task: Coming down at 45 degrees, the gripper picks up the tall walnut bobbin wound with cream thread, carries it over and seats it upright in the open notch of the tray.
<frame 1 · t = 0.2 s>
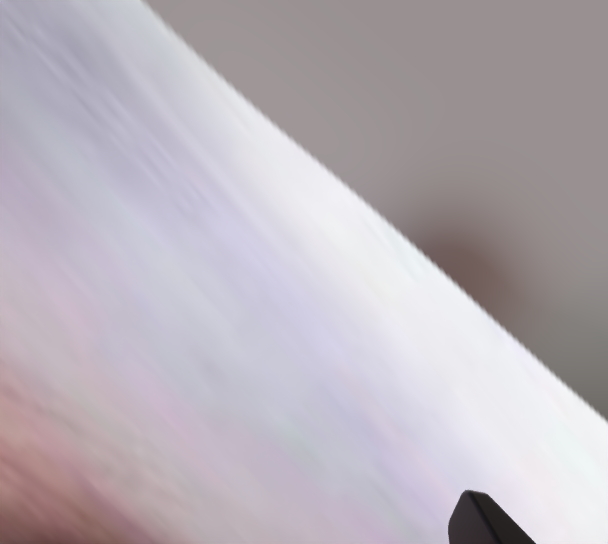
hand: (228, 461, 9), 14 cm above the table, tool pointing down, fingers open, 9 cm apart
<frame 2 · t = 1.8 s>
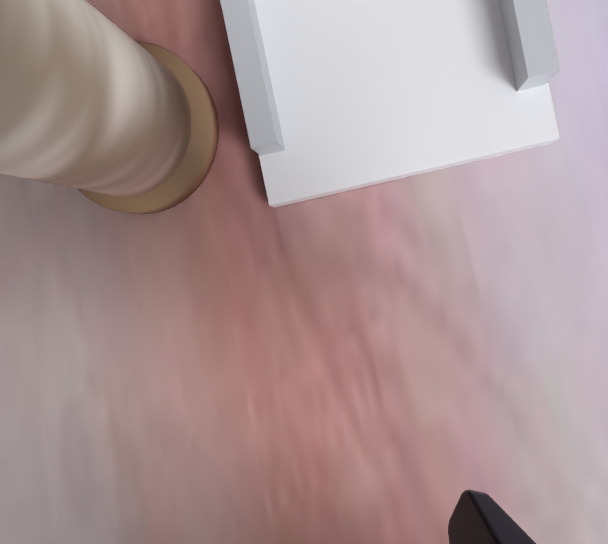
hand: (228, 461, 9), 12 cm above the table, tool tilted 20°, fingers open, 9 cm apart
tray: (383, 66, 20), on the table
bobbin: (142, 133, 21), on the table
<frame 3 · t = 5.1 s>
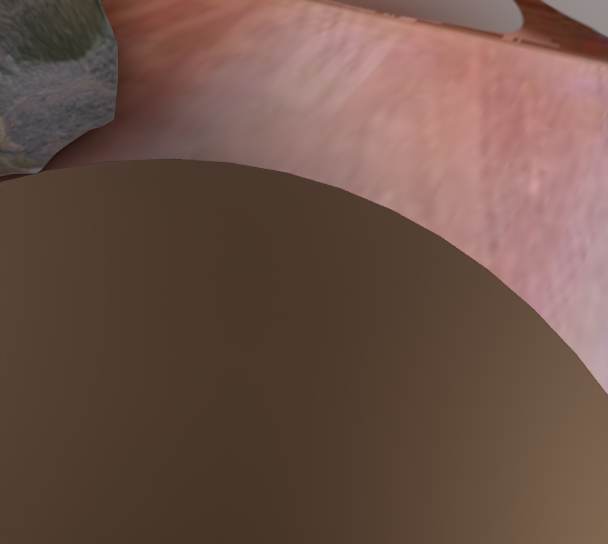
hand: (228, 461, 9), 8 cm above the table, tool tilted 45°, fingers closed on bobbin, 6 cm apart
bobbin: (214, 515, 16), on the table, touching gripper
when the fingers open (10 cm above the table, at t = 8.8 s): bobbin drops 1 cm, resting on tray.
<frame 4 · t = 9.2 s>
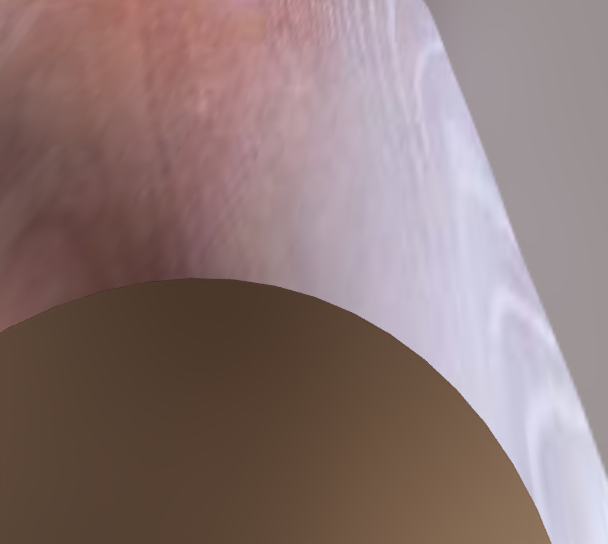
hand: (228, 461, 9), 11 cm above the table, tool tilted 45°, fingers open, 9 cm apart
bobbin: (214, 515, 17), point 1 cm above the table, touching tray
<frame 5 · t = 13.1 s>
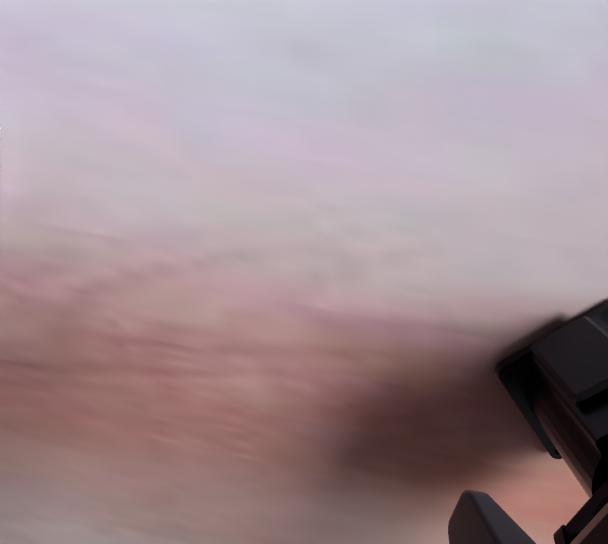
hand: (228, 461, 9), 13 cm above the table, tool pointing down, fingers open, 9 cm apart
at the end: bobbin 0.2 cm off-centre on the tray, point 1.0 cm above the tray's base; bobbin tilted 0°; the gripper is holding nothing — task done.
